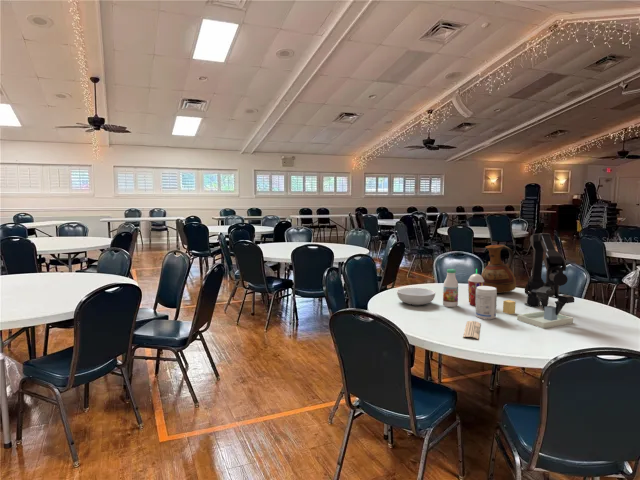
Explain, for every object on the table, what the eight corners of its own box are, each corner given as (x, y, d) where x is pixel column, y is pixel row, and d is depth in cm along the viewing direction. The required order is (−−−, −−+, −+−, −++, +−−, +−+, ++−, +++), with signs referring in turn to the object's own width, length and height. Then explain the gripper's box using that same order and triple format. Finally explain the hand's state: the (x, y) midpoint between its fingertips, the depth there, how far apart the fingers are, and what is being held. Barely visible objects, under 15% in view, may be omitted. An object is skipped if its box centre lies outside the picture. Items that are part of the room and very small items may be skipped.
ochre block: (508, 311, 212) (509, 299, 211) (515, 313, 208) (515, 301, 207) (502, 312, 210) (503, 300, 209) (509, 314, 206) (509, 302, 206)
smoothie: (484, 307, 220) (486, 270, 218) (468, 306, 221) (469, 269, 219) (481, 303, 228) (483, 267, 226) (466, 302, 230) (467, 267, 228)
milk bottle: (440, 304, 226) (441, 268, 224) (454, 303, 227) (455, 268, 225) (446, 307, 219) (447, 270, 217) (460, 307, 219) (461, 270, 217)
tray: (546, 315, 204) (546, 310, 204) (573, 322, 191) (573, 317, 191) (517, 319, 196) (517, 314, 196) (543, 328, 183) (543, 322, 183)
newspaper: (466, 324, 192) (466, 320, 192) (482, 325, 190) (482, 322, 189) (462, 339, 171) (463, 335, 171) (481, 342, 168) (481, 337, 168)
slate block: (549, 317, 198) (550, 305, 197) (557, 319, 194) (557, 307, 194) (543, 318, 196) (544, 306, 196) (551, 320, 193) (552, 308, 192)
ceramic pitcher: (476, 288, 266) (477, 242, 263) (507, 288, 265) (509, 242, 262) (487, 295, 246) (489, 246, 243) (521, 295, 245) (523, 246, 242)
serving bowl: (431, 299, 237) (431, 287, 237) (438, 308, 217) (438, 296, 216) (395, 298, 240) (395, 286, 239) (398, 307, 219) (398, 295, 218)
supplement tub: (484, 313, 208) (486, 285, 206) (500, 318, 199) (501, 288, 198) (470, 315, 203) (471, 286, 202) (486, 320, 195) (487, 290, 193)
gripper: (523, 279, 199) (522, 310, 200) (559, 286, 182) (557, 320, 183) (539, 277, 203) (538, 307, 205) (576, 284, 186) (574, 317, 188)
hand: (550, 313), depth 195 cm, fingers open, 6 cm apart
